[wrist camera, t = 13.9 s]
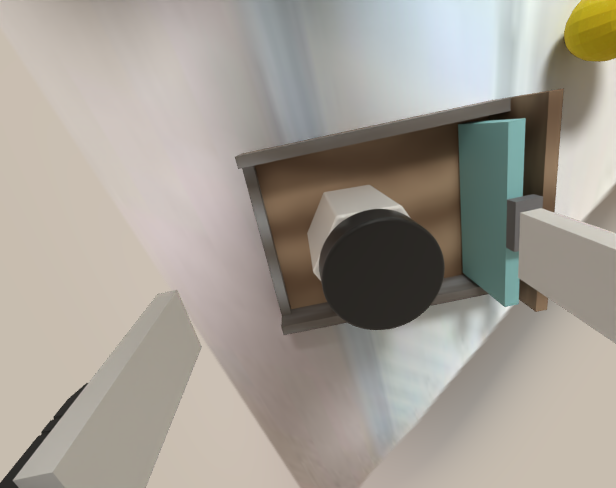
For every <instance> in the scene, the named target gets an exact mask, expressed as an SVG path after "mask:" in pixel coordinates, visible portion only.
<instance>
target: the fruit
mask: <svg viewBox="0 0 616 488" xmlns="http://www.w3.org/2000/svg"><path fill="white" fill-rule="evenodd" d="M564 40H565V44H566V47H567V48H568V50H569V51H570V52H571V53H572V54H573V55H574V56H576V57H578V58H580V59H582V60H585V61H599V62H600V61H608V60H611V59H615V58H616V0H581V1H580V3H579V4H578V5H577V6H576V7H575V9H574V10H573V12H572V14H571V16H570V17H569V19H568V21H567V23H566V27H565V31H564Z"/></svg>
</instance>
